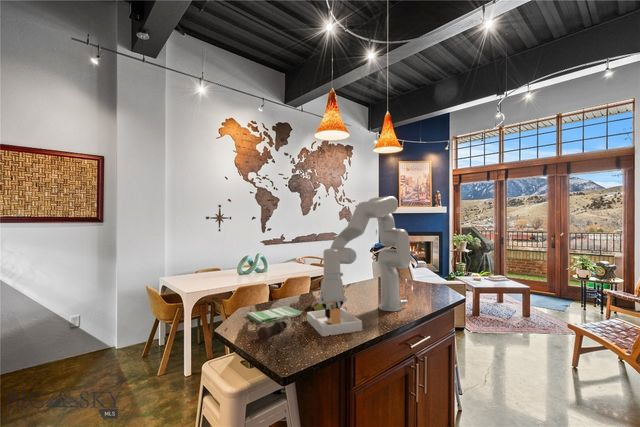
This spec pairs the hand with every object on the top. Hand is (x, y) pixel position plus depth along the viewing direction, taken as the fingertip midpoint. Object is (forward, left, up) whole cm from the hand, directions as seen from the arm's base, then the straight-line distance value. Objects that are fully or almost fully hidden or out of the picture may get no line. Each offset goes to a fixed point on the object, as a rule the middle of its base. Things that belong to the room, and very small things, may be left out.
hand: (332, 316), depth 134 cm
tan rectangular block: (0, +1, -2) cm, 3 cm away
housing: (0, 0, -4) cm, 4 cm away
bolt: (+26, 0, -4) cm, 27 cm away
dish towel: (+22, -25, -5) cm, 34 cm away
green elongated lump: (-3, -24, -5) cm, 24 cm away
